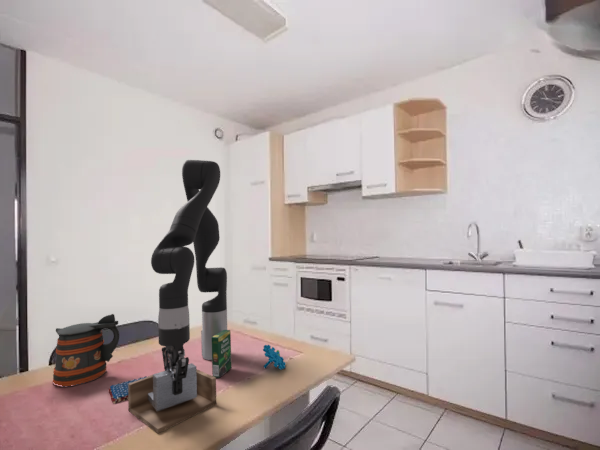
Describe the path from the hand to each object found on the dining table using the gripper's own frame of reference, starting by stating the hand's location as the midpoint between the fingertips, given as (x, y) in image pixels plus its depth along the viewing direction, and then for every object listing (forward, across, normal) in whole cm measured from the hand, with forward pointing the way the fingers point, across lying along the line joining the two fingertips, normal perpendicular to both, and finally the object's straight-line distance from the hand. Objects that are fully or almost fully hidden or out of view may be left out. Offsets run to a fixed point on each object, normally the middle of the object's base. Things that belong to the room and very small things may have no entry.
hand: (175, 391), depth 82 cm
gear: (+6, -5, +35) cm, 36 cm away
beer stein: (+6, -43, -14) cm, 46 cm away
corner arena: (+5, -3, 0) cm, 6 cm away
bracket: (+3, -3, 0) cm, 4 cm away
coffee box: (+6, -14, +20) cm, 25 cm away
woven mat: (+6, -21, -6) cm, 23 cm away
